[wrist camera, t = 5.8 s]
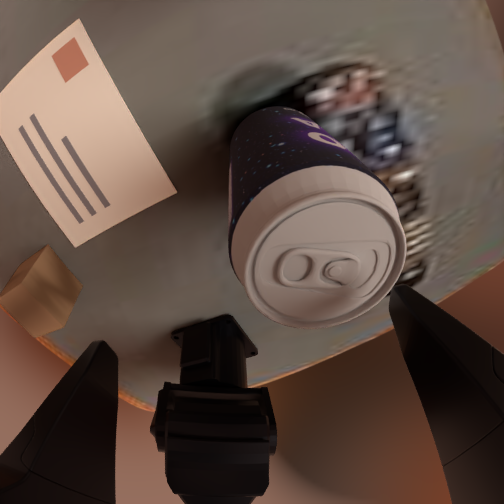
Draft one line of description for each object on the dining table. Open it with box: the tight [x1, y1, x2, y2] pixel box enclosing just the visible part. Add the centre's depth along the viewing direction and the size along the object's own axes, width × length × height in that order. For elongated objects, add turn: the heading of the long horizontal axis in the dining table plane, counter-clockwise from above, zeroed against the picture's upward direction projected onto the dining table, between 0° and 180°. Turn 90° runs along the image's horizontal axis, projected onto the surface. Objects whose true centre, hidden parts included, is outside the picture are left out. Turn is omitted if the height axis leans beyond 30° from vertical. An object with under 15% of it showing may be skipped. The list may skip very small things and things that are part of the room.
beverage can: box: [228, 107, 406, 329], centre depth 13 cm, size 6×6×12 cm
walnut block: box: [0, 245, 83, 338], centre depth 21 cm, size 5×5×5 cm
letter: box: [0, 19, 177, 248], centre depth 16 cm, size 14×10×1 cm
